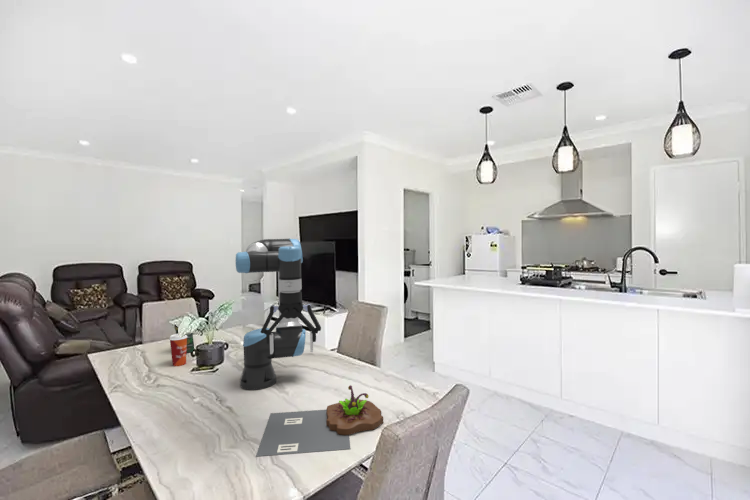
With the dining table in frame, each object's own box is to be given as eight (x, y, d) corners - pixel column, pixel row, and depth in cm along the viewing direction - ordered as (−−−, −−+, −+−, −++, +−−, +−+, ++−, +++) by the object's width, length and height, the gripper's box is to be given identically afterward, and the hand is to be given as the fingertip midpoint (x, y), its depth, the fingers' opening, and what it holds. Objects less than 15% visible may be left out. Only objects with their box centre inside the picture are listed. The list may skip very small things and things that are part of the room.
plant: (369, 401, 142) (369, 373, 141) (389, 426, 124) (389, 394, 123) (319, 411, 135) (318, 381, 134) (332, 438, 116) (332, 404, 116)
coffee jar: (177, 355, 199) (176, 322, 198) (173, 352, 205) (172, 319, 204) (196, 351, 205) (195, 319, 205) (192, 348, 211) (191, 316, 210)
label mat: (255, 456, 108) (255, 456, 108) (270, 413, 134) (270, 413, 134) (350, 449, 111) (350, 448, 111) (347, 408, 137) (347, 407, 137)
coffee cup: (180, 367, 181) (179, 337, 180) (166, 366, 183) (165, 337, 182) (192, 361, 189) (191, 333, 188) (178, 360, 191) (177, 332, 190)
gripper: (250, 294, 120) (252, 357, 121) (326, 291, 123) (328, 353, 124) (255, 290, 128) (257, 350, 129) (327, 288, 131) (328, 346, 132)
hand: (291, 352), depth 127 cm, fingers open, 13 cm apart
